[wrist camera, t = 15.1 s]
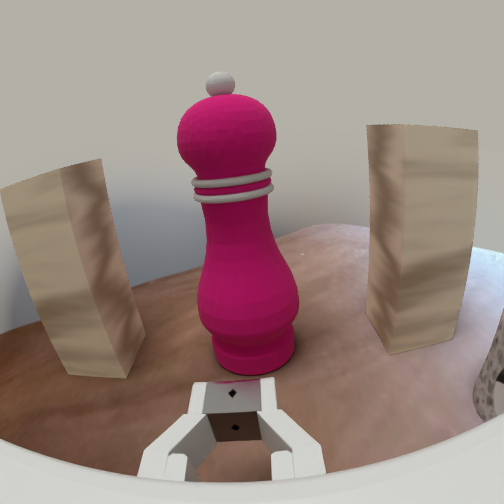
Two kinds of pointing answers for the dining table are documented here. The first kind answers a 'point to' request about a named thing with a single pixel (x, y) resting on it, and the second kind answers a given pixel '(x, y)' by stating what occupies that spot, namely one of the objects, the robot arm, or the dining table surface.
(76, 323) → the beech block
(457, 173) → the beech block with 2
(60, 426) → the dining table surface
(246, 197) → the pepper mill
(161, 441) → the robot arm
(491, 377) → the mug
